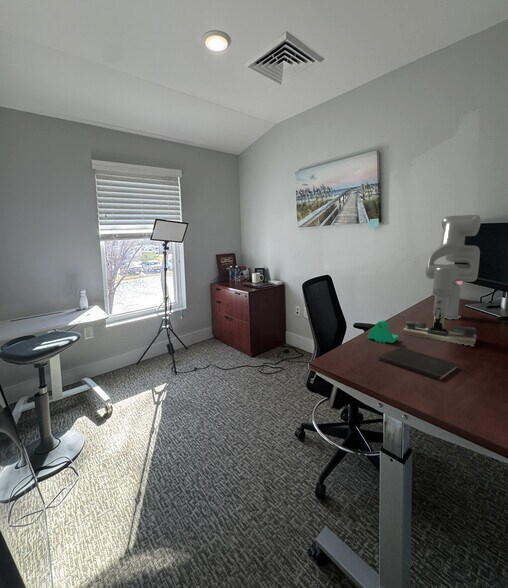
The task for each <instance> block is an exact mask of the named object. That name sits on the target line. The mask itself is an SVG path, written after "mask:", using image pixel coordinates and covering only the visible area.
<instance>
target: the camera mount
mask: <svg viewBox="0 0 508 588" xmlns="http://www.w3.org/2000/svg"><path fill="white" fill-rule="evenodd" d="M367 339H372V340H374V342H377V341H379V342H378V343H382V342H383V343H382V344H386V343H391V344H394V343H395V342H397V340H398V339H399V335H397V334H392V332H391V330H390V328H389V323H388V322H387V321H386V320H384V319H382V320H379V321H377V323H376V324H375V325H373V327H372V329H371V330H370V331H369V332H368V334H367Z"/></svg>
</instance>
